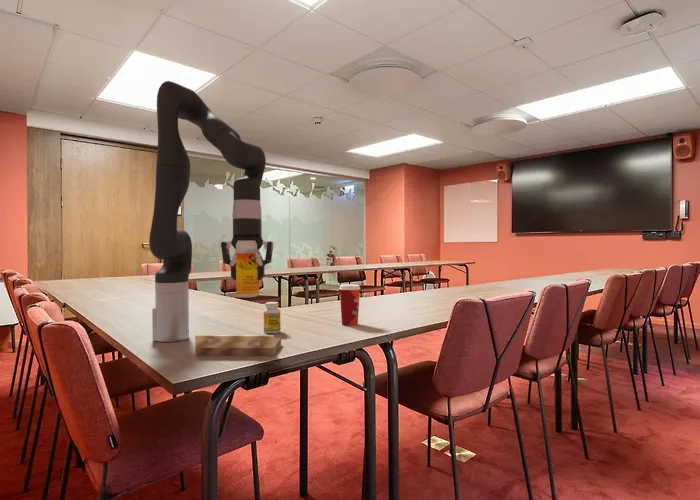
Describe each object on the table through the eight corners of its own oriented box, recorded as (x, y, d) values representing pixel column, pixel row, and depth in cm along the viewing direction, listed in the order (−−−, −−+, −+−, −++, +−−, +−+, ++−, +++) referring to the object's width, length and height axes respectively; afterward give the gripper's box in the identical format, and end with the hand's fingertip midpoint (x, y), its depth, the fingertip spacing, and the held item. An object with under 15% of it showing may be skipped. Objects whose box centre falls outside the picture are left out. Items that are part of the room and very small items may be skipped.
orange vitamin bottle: (244, 298, 107) (243, 240, 107) (231, 296, 111) (231, 240, 111) (263, 295, 111) (263, 240, 111) (251, 294, 115) (250, 240, 115)
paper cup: (360, 326, 142) (360, 286, 142) (338, 326, 142) (338, 286, 142) (360, 322, 150) (360, 283, 149) (339, 322, 150) (339, 283, 150)
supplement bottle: (276, 329, 137) (276, 301, 137) (283, 332, 132) (283, 302, 132) (261, 331, 134) (261, 302, 134) (267, 334, 129) (267, 304, 129)
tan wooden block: (195, 355, 105) (195, 336, 105) (210, 344, 116) (210, 327, 116) (273, 355, 105) (272, 336, 105) (281, 345, 116) (280, 327, 116)
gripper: (276, 218, 114) (276, 278, 115) (225, 218, 115) (225, 278, 115) (271, 216, 107) (271, 281, 107) (215, 217, 107) (216, 281, 107)
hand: (247, 279), depth 111 cm, fingers closed on orange vitamin bottle, 6 cm apart
